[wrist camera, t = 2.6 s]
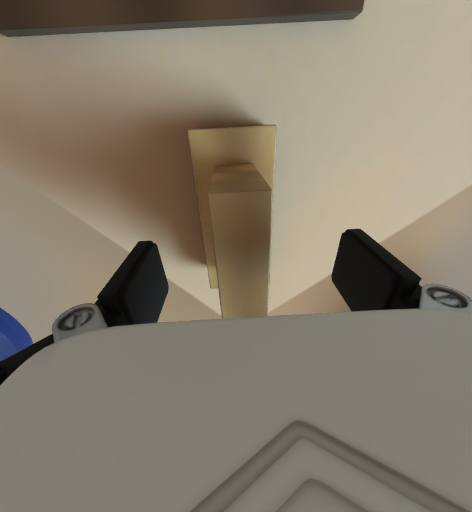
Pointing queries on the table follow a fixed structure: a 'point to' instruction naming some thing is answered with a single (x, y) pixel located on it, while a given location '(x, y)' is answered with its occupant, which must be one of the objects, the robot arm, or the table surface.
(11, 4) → the tray
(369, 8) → the table surface
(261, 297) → the brush
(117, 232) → the table surface
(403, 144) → the table surface
